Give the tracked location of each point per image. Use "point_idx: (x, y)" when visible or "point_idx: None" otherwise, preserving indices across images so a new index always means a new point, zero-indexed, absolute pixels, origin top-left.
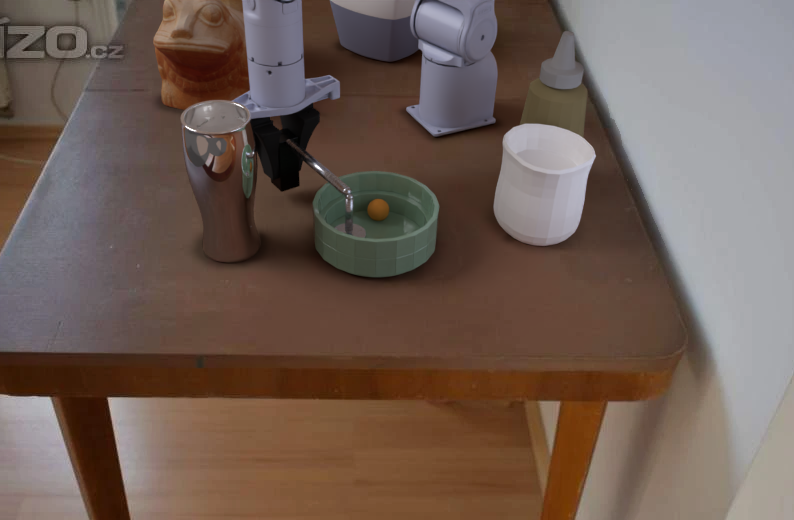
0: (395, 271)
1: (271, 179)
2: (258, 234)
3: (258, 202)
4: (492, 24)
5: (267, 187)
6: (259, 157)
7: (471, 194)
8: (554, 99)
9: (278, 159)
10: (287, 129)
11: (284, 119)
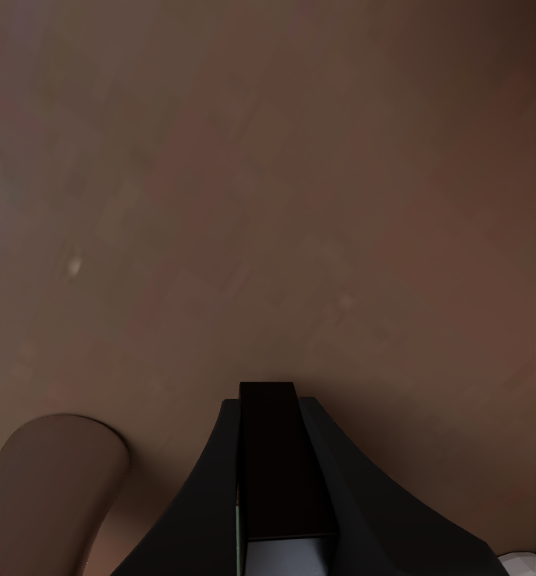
0: None
1: (239, 392)
2: (119, 493)
3: (197, 366)
4: None
5: (249, 328)
6: (213, 430)
7: (509, 516)
8: None
9: (238, 510)
10: (331, 543)
11: (357, 548)
